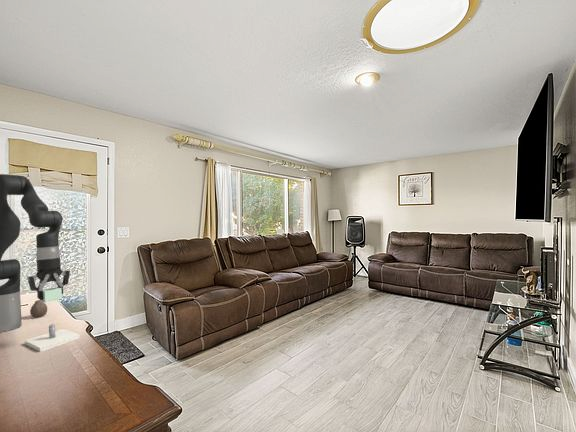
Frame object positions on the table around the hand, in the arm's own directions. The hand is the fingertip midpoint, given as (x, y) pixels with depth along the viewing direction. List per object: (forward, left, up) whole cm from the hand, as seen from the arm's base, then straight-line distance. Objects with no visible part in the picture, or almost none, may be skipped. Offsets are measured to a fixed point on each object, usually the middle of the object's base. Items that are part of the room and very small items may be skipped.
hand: (50, 297), depth 116 cm
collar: (0, 0, -1) cm, 1 cm away
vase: (-49, +10, -18) cm, 53 cm away
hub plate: (0, 0, -18) cm, 18 cm away
